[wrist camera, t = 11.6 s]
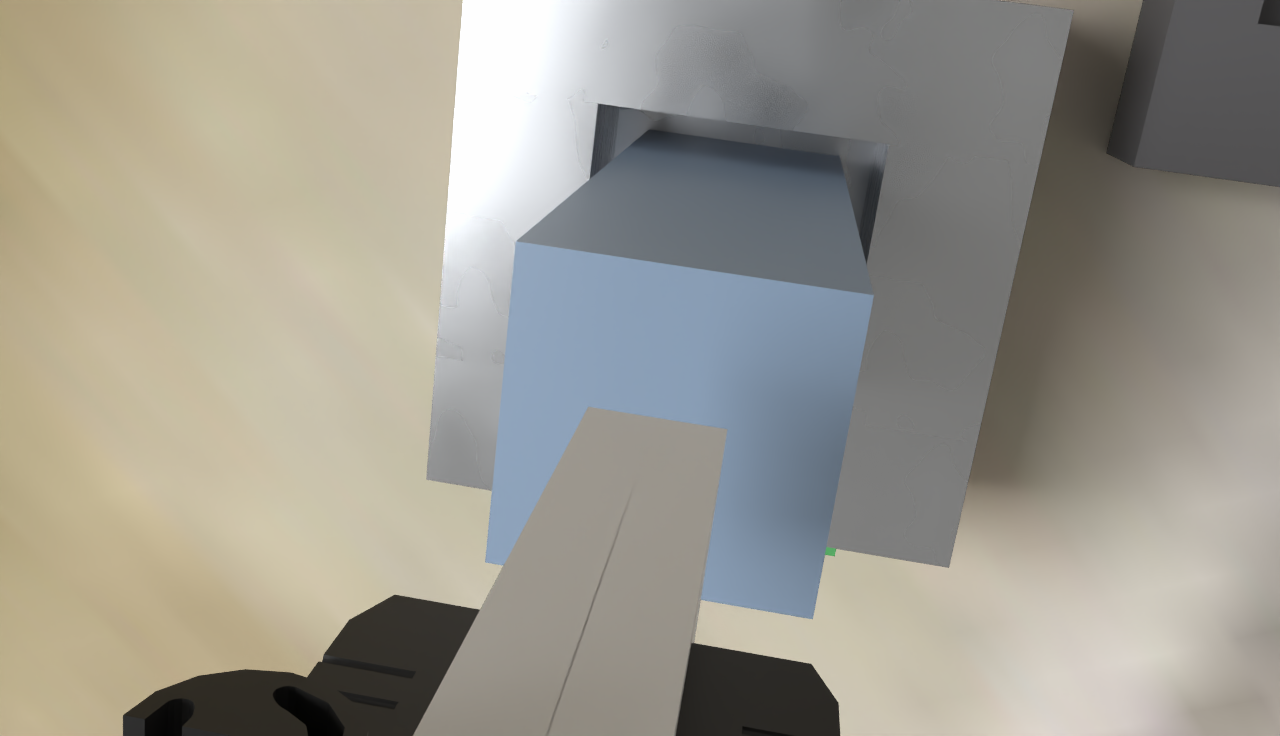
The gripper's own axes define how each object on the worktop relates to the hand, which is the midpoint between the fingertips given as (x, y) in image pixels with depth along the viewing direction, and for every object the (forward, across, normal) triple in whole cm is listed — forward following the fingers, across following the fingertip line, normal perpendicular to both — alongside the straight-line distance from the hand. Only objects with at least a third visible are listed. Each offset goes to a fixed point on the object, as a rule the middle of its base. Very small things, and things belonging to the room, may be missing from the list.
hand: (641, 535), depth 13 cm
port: (+18, 0, 0) cm, 18 cm away
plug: (+17, 0, 0) cm, 17 cm away
